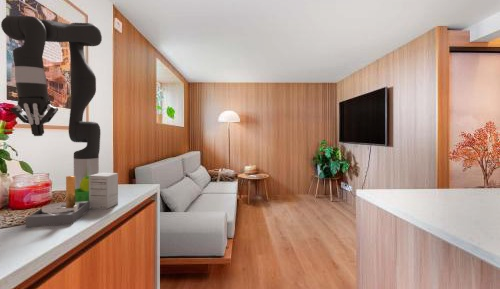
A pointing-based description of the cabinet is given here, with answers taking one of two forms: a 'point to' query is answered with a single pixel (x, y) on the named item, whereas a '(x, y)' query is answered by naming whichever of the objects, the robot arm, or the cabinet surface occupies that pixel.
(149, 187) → the cabinet surface
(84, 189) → the fruit basket
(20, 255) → the cabinet surface
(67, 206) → the dial
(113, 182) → the supplement box
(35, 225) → the housing
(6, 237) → the cabinet surface
